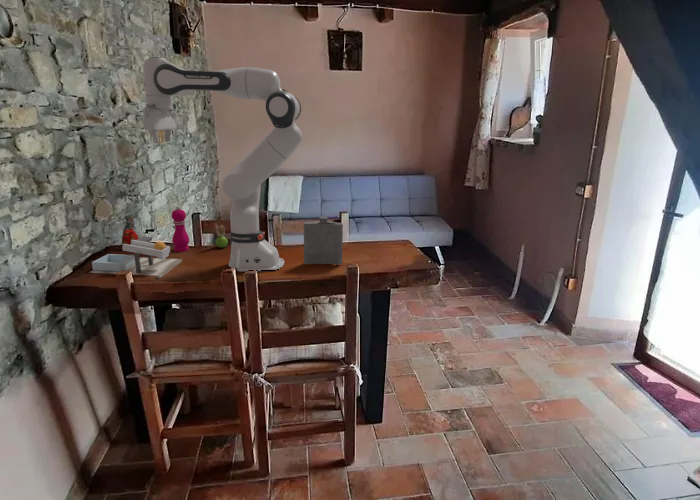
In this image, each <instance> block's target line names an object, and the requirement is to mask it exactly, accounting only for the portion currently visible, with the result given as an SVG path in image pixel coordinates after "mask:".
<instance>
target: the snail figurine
mask: <svg viewBox="0 0 700 500" xmlns="http://www.w3.org/2000/svg"><path fill="white" fill-rule="evenodd" d="M214 229H215V234H216V235H217V237H216V239H215V245H216V246H217V247H218V248H221V249H222V248H223V249H224V248H225V247H227V246H228V244H229V241H228V238H227V237H225V234H226V227H225V226H224V225H221V224H220V225H219V226H218V224H217V223H214Z"/></svg>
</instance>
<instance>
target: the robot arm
mask: <svg viewBox="0 0 700 500" xmlns="http://www.w3.org/2000/svg"><path fill="white" fill-rule="evenodd" d="M142 69H143V85H144V87H145V97H144V98H145V108H144V110H143V118H142V119H143V128H144V130H145V131H150V135H151V136H152V137H151V138H152V141H153V144H160V142H161V141H160V140H161V139H160V137H159V135H158V134H159V131H164V133H165V136H164V142H167V143H170V142H172V135H173V134H172V133H173V130H177V126H178V122H177V121H178V117H177V116H178V114H177V109H178V105H177V104H176V103H175V102H174V101H173V99H172V95H173V96H182V97H183V96H189V95H191V94H193V93H194V92H195V91H210V92H214V93H215V92H216V93H218V94H223V95H226V96H229V97H232V98H236V99H242V100H261V101H264V102H265V111H266V113H267V117H268V118H269V119H270V121H271V123H272V125H273V127H274V128H273V129H272V131H271V132H269V134H267V136H266V137H265V138H264V139H263V140H262V141H261V142H259V144H258V145H257V147H255V148H254V149H253V150H252V151H251V152H250V153H249V154H248V155H247V156H246V157H244V158H243V159H242V160H241V161H240V162H239V163H238V164H237V165H236V166H235V167H233V169H231V170H230V171H229V173H227V175H226V176H225V177H224V179H223V181H222V190H223V192H224V194H225V195H226V196H227V197H229V198H230V199H232V202H231V207H230V212H229V215H230V216H229V221H230V232H229V241H230V256H229V261H228V266H229V267H230V268H232V269H234V268H236V269H237V270H236V269H235V270H236V271H237V272H249V271H248V270H257V271H256V272H262V271H261V270H276V271H278V270H277V269H279V270H280V268H281V267H282V268H283V267H284V266H283V265H285V264H284V263H285V259H284V258H281V257H280V255H279V251H278V249H277V248H276V247H277V246H276V247H275V246H274V245H272V243H270V242H268V241H267V240H266V239H265V231H262V230H261V229H260V217H259V216H260V215H259V210H260V209H259V208H260V202H261V201H260V200H261V189H262V188H261V186H262V184H263V183H264V182H265V181H266V180H267V179H269V177H270V176H272V175H273V174H274V173H275V172H276V171H277V170H278V169H279V168H280V167H281V166H282V165H283V164H284V163H285V162H286V161H287V160H288V159H289V158H290V157H291V156H292V154H293V153H294V152H295V151H296V149H297V148H298V147H299V145H300V144H301V143H302V140H303V133H302V131H301V129H300V127H299V126H297V123H296V120H298V118H299V117H300V116H301V112H302V105H301V102H300V100H299V99H298V98H297V97H296V96H295V95H294V94H292V93H291V92H289V91H288V90H286V89H283V88H282V87H281V80H280V77H279V75H278V74H277V72H276V71H274V70H272V69H269V68H267V69H266V68H262V67H250V66H245V67H244V66H241V67H233V68H225V69H218V70H212V71H209V70H188V69H185V68H183V67H180V66H177V65H176V64H174V63H171V62H170V61H168V59H166V58H165V57H161V56H158V57H157V56H155V57H150V58H147V59H145V60H144V63H143V67H142ZM282 268H281V269H282Z"/></svg>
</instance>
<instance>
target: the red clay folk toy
mask: <svg viewBox="0 0 700 500" xmlns="http://www.w3.org/2000/svg"><path fill="white" fill-rule="evenodd" d="M133 219H134V215H132V216H131V217H129V218H128V220H129V221H130V222H131V223H130V228H129V229H127V228H126V229H125V230H124V232H123V235H122V236H121V248H123V244H128V245H130V244H131V240H137V239H139V238H140V237H139V236H138V233H137V232H136V231H135V230H134V229H133Z"/></svg>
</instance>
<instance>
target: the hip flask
mask: <svg viewBox="0 0 700 500" xmlns="http://www.w3.org/2000/svg"><path fill="white" fill-rule="evenodd" d="M318 219H319V221H305V222H303V264H304V265H305V264H336V265H338V264H342V265H343V239H344V238H343V234H344V229H343V228H344V225H343V224H344V223H343V222H336V221H330V220H329V217H328V216H324V215H323V216H318ZM336 265H335V266H336Z"/></svg>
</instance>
